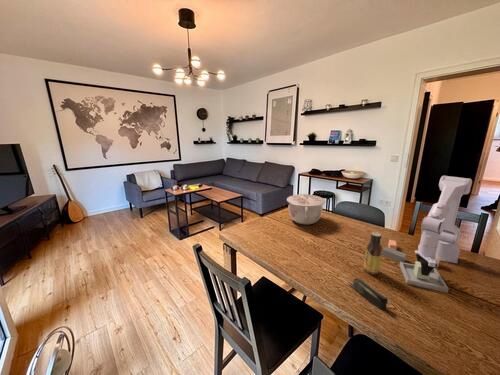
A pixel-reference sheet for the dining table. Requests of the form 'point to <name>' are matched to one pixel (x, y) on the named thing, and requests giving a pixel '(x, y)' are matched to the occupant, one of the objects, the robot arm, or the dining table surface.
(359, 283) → the dark grey bar
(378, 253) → the sauce bottle
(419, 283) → the grey tray
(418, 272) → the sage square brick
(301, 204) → the chamber pot
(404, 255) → the grey rectangular block
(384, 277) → the dining table surface
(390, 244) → the terracotta slim brick
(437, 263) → the cream round brick
